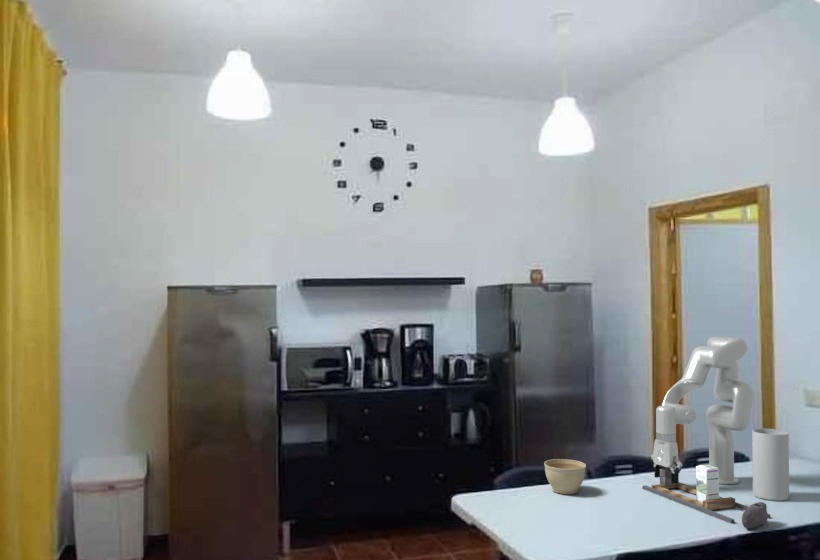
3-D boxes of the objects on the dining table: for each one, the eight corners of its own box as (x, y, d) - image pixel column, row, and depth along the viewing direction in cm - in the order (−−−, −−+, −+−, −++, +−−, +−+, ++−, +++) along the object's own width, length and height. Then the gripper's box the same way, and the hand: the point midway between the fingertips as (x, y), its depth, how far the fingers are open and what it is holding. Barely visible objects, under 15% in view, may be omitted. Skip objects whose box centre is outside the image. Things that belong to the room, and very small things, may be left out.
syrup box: (719, 507, 260) (719, 467, 260) (706, 509, 258) (706, 469, 258) (708, 503, 265) (708, 464, 266) (695, 504, 264) (695, 465, 264)
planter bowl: (540, 494, 277) (540, 466, 277) (548, 484, 292) (548, 457, 292) (582, 499, 271) (582, 470, 271) (588, 488, 286) (588, 461, 286)
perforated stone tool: (750, 533, 233) (750, 511, 233) (735, 529, 237) (734, 507, 237) (772, 523, 242) (772, 503, 242) (756, 520, 246) (756, 499, 246)
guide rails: (642, 488, 285) (642, 485, 285) (678, 484, 291) (678, 481, 291) (730, 523, 242) (730, 519, 242) (770, 517, 248) (770, 514, 248)
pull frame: (650, 488, 284) (650, 469, 284) (676, 485, 289) (676, 467, 289) (706, 510, 256) (706, 489, 256) (735, 506, 260) (735, 486, 260)
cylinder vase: (793, 496, 274) (792, 431, 275) (783, 503, 265) (783, 436, 265) (758, 490, 283) (758, 427, 283) (748, 497, 273) (747, 431, 274)
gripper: (644, 433, 292) (644, 475, 292) (673, 442, 276) (673, 486, 276) (659, 432, 295) (659, 474, 294) (688, 440, 279) (689, 484, 278)
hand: (666, 480), depth 285 cm, fingers open, 9 cm apart
